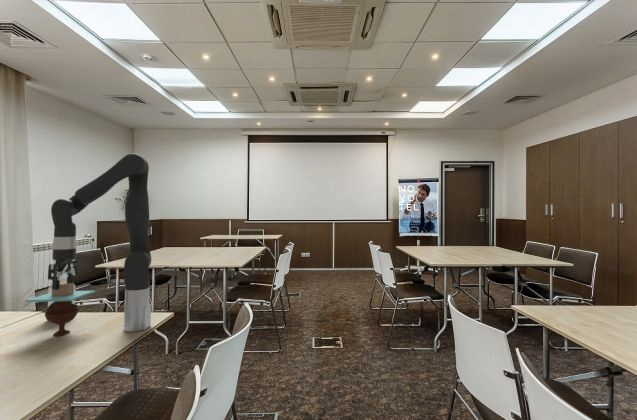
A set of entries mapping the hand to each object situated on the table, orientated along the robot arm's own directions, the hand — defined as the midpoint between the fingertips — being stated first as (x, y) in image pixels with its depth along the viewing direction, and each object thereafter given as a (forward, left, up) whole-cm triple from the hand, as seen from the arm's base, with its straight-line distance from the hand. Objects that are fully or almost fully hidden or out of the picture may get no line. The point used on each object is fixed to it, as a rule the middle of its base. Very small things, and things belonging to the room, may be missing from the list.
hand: (63, 287), depth 128 cm
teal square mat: (0, 0, -4) cm, 4 cm away
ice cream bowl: (0, 0, -19) cm, 19 cm away
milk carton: (+13, -20, -19) cm, 31 cm away
